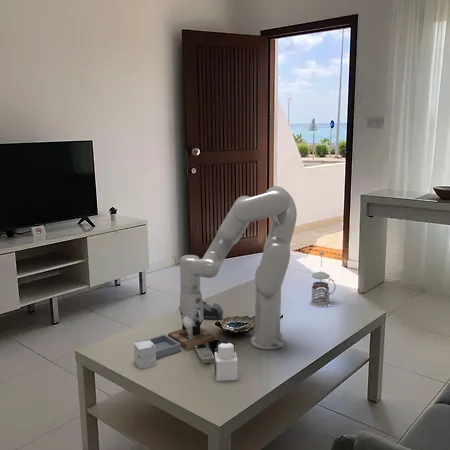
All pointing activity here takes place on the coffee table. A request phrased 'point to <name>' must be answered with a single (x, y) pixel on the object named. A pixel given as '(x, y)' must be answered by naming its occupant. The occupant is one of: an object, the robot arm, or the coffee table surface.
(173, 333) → the socket collar
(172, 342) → the tray
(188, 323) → the lightbulb
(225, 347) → the medicine bottle
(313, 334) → the coffee table surface
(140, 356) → the skincare box
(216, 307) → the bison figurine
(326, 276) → the french press
